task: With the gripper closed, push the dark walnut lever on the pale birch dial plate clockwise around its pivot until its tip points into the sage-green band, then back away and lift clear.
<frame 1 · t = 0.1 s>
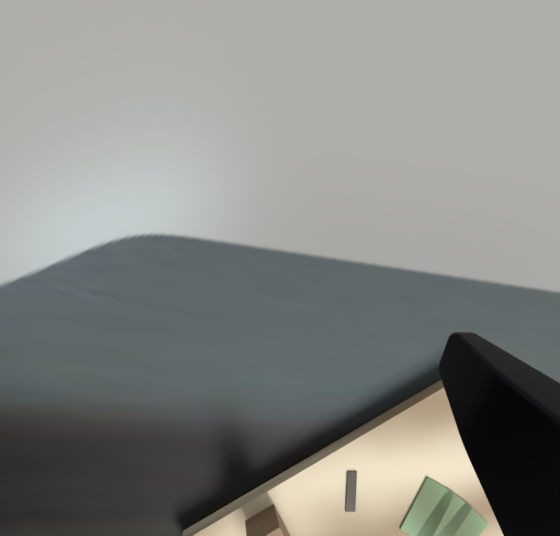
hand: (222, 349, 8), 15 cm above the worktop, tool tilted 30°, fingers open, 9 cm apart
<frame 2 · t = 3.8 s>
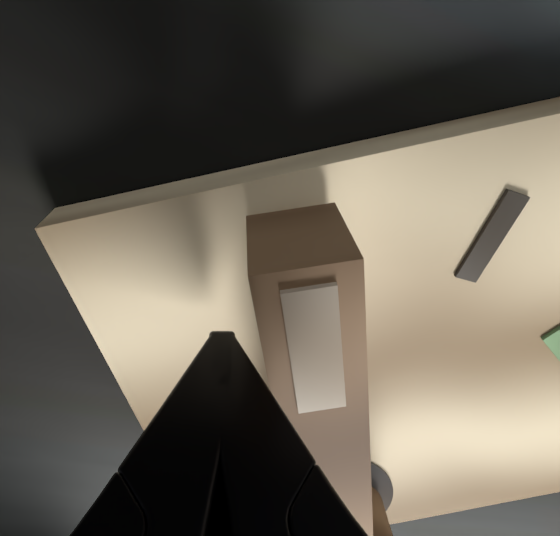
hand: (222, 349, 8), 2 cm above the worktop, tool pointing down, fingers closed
walnut lever: (324, 460, 10), point 2 cm above the worktop, hinge at -4.0°, touching gripper
dial plate: (482, 341, 12), on the worktop
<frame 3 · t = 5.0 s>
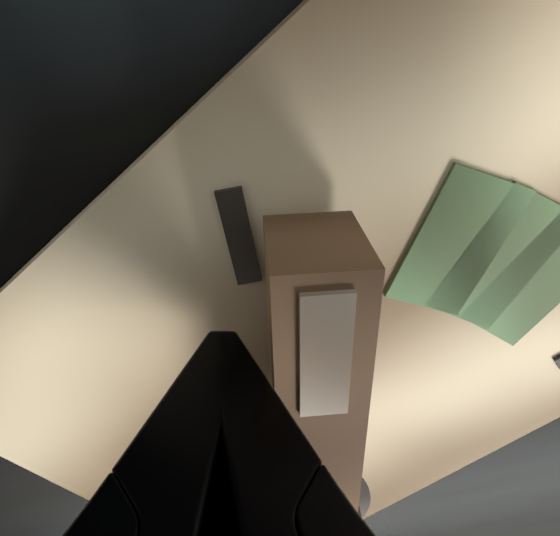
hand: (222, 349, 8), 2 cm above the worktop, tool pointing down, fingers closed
walnut lever: (312, 465, 10), point 2 cm above the worktop, hinge at -38.1°, touching gripper
dial plate: (358, 310, 11), on the worktop
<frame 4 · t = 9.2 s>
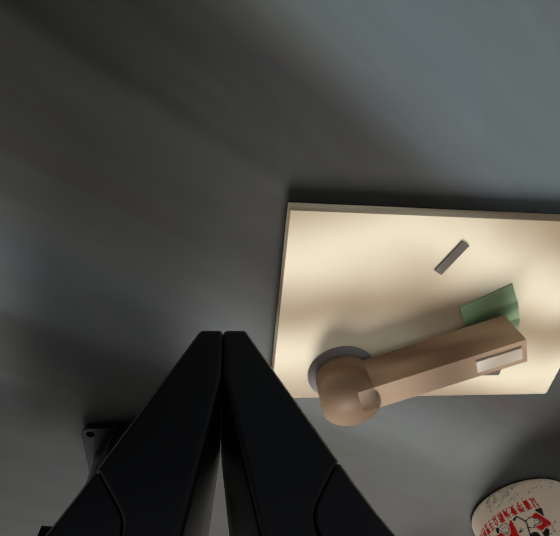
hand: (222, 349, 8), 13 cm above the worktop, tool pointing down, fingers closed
teacup with lid: (507, 515, 38), on the worktop
walnut lever: (416, 369, 24), point 2 cm above the worktop, hinge at -66.5°
dial plate: (432, 307, 25), on the worktop
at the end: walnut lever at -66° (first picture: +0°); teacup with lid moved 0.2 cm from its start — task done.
